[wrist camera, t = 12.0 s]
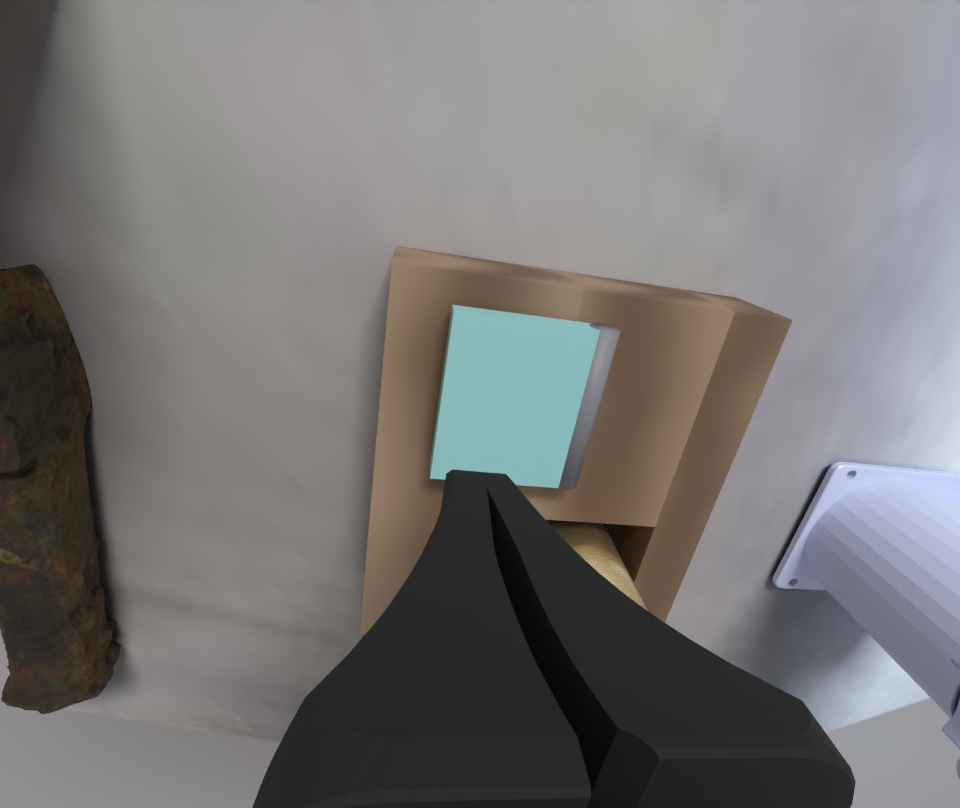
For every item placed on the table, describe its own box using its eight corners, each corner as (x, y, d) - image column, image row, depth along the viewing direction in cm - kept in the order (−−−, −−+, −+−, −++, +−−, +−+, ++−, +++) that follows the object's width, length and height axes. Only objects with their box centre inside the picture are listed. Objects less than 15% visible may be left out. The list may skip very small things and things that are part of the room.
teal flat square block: (613, 325, 17) (624, 334, 16) (572, 476, 19) (579, 491, 18) (452, 304, 16) (453, 311, 15) (429, 464, 18) (430, 480, 17)
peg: (606, 492, 24) (670, 605, 18) (585, 556, 26) (637, 680, 20) (526, 485, 24) (564, 599, 17) (510, 551, 25) (539, 678, 19)
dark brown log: (135, 644, 26) (79, 737, 21) (46, 637, 25) (-31, 732, 20) (131, 281, 18) (45, 312, 14) (5, 253, 18) (-125, 279, 13)
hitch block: (736, 297, 21) (792, 320, 18) (628, 587, 27) (656, 642, 24) (397, 246, 18) (391, 261, 15) (367, 575, 25) (359, 634, 22)
